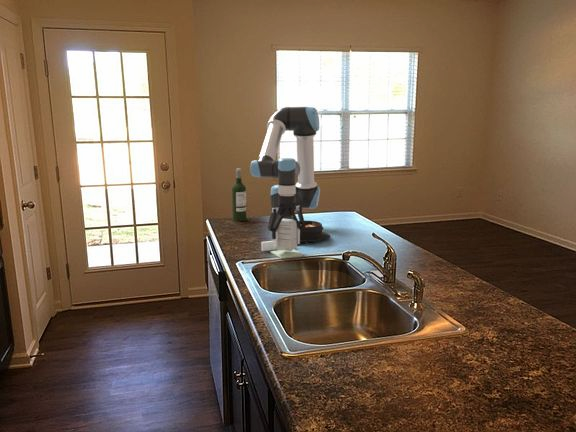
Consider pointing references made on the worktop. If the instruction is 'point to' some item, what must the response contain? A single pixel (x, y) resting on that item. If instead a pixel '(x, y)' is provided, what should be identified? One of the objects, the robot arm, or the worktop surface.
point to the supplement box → (287, 235)
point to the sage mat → (286, 253)
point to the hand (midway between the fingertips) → (286, 244)
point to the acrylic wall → (268, 246)
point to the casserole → (312, 232)
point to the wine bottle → (239, 198)
